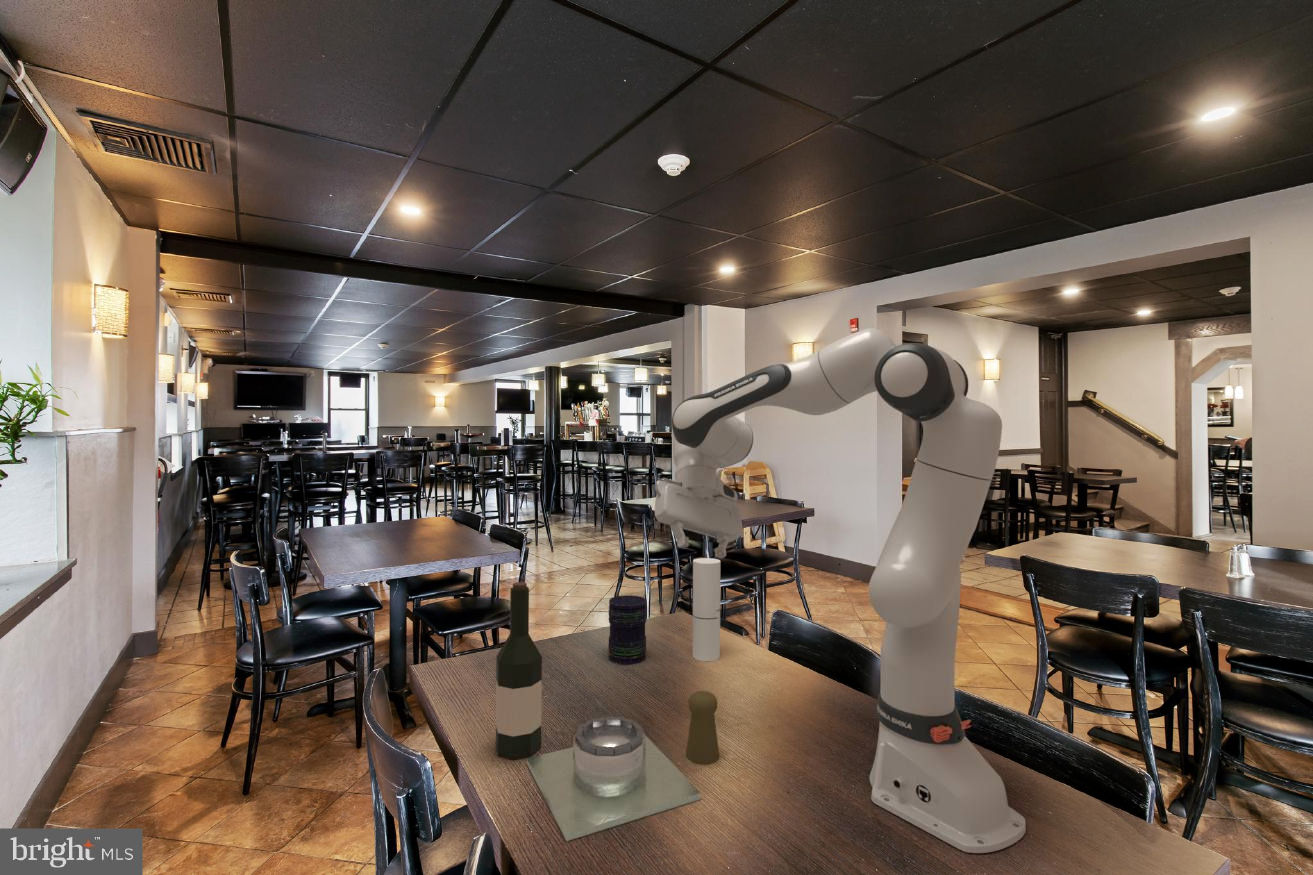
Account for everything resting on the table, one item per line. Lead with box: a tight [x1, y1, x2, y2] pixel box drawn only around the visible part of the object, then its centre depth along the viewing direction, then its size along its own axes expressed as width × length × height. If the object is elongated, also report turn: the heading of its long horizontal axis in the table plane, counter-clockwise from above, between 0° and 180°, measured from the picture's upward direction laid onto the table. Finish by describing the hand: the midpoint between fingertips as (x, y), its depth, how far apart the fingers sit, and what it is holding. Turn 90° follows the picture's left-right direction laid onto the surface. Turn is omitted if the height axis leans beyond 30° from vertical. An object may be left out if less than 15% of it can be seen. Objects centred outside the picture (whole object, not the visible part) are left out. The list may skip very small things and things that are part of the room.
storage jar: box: [608, 594, 648, 666], centre depth 152 cm, size 10×10×15 cm
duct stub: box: [526, 716, 702, 842], centre depth 97 cm, size 22×22×8 cm
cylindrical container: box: [692, 557, 721, 662], centre depth 154 cm, size 7×7×25 cm
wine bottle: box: [495, 581, 543, 761], centre depth 107 cm, size 8×8×30 cm
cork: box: [685, 690, 720, 765], centre depth 105 cm, size 6×6×11 cm
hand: (702, 551), depth 113 cm, fingers open, 8 cm apart
